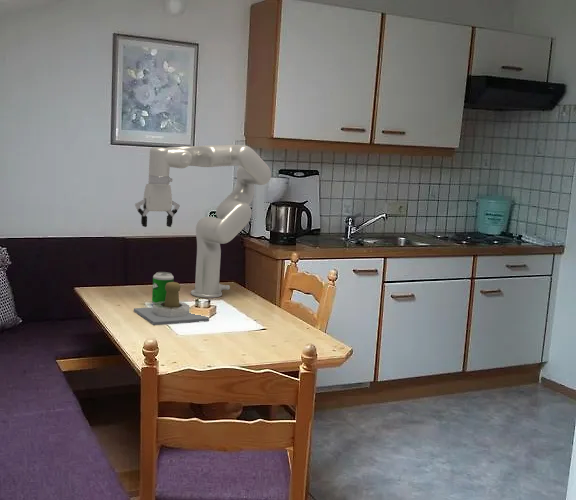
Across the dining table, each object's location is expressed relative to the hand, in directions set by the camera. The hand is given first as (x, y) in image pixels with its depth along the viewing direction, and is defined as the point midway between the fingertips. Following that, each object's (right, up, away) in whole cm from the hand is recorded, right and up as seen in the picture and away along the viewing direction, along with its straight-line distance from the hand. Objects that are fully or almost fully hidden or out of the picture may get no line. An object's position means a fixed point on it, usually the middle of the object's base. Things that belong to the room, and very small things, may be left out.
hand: (156, 226), depth 267 cm
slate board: (+8, -32, -19) cm, 38 cm away
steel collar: (+8, -32, -19) cm, 38 cm away
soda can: (+3, -30, -3) cm, 30 cm away
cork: (+9, -31, -19) cm, 37 cm away
